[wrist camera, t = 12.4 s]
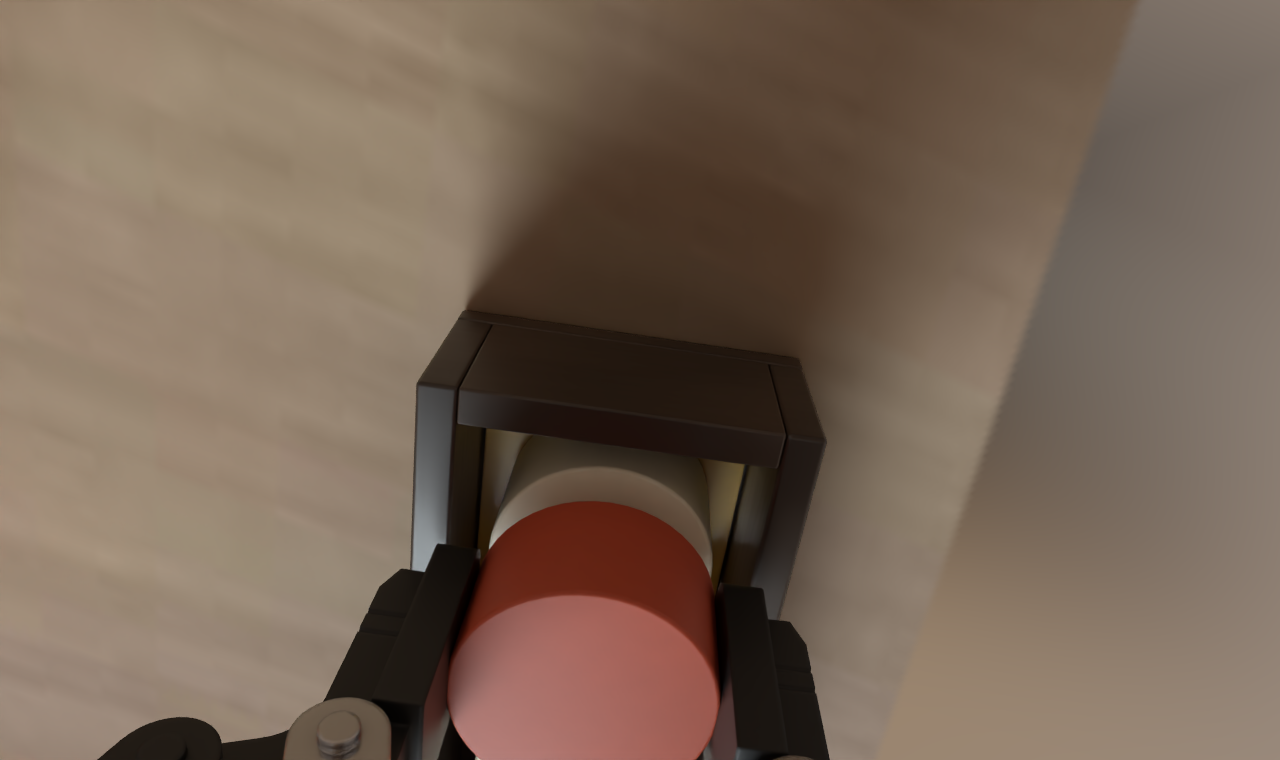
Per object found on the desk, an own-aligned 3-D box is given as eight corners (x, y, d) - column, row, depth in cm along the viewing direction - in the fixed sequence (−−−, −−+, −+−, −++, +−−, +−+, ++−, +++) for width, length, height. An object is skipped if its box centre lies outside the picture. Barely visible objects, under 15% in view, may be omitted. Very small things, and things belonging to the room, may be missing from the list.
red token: (594, 454, 14) (579, 541, 12) (763, 606, 15) (779, 712, 13) (428, 593, 15) (387, 695, 13) (595, 723, 16) (583, 837, 14)
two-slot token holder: (799, 357, 17) (829, 440, 14) (692, 800, 23) (696, 931, 20) (462, 309, 17) (414, 381, 14) (436, 767, 23) (398, 894, 19)
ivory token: (609, 367, 17) (599, 423, 15) (748, 499, 18) (759, 570, 16) (469, 490, 18) (441, 558, 16) (608, 606, 19) (600, 684, 17)
